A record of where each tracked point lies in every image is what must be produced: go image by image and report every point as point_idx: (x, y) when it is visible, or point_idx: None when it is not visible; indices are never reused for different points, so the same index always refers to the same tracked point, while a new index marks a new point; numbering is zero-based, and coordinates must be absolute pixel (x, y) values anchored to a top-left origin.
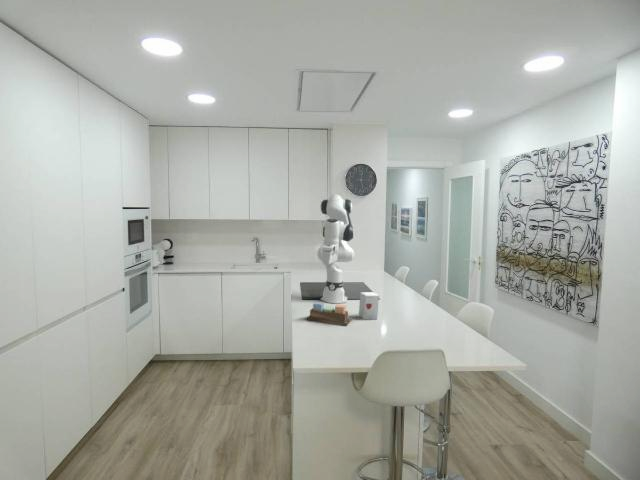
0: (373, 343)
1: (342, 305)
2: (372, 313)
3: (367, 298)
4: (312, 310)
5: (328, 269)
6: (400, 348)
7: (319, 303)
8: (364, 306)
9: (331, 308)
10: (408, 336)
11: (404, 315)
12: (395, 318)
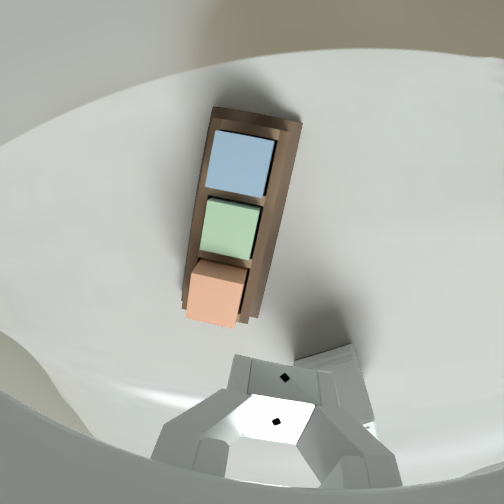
0: (64, 354)
1: (231, 312)
2: None
3: None
4: (209, 131)
5: (233, 367)
6: (68, 399)
7: (236, 169)
8: None
9: (236, 243)
10: (157, 439)
11: None
12: None
